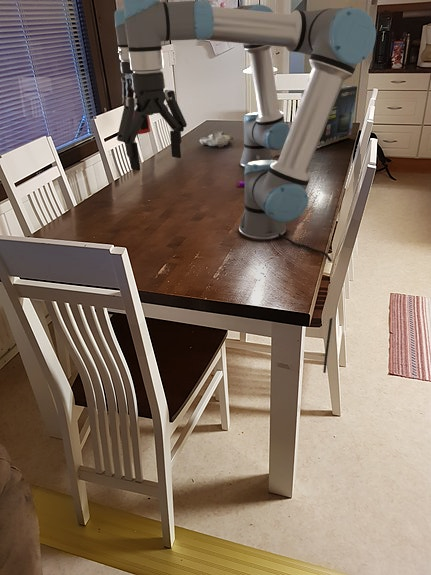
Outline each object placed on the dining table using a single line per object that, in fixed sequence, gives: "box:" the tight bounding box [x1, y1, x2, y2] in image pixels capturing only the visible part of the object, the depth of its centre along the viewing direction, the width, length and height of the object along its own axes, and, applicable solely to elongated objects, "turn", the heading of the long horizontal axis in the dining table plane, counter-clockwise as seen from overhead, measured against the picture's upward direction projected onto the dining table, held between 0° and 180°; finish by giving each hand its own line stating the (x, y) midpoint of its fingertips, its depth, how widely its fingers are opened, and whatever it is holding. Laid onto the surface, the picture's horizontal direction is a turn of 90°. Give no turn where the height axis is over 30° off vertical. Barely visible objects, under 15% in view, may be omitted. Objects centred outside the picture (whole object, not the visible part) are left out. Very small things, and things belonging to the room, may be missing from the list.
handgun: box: [237, 180, 245, 187], centre depth 182 cm, size 21×8×2 cm, turn 11°
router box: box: [300, 84, 358, 146], centre depth 238 cm, size 36×11×27 cm, turn 134°
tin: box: [133, 109, 151, 135], centre depth 171 cm, size 9×9×7 cm
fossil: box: [199, 129, 234, 148], centre depth 250 cm, size 18×11×15 cm
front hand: (156, 163), depth 117 cm, fingers open, 13 cm apart
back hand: (138, 127), depth 172 cm, fingers closed on tin, 9 cm apart
